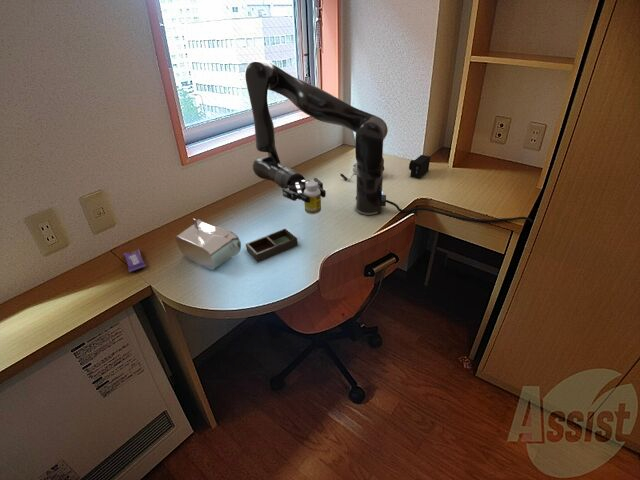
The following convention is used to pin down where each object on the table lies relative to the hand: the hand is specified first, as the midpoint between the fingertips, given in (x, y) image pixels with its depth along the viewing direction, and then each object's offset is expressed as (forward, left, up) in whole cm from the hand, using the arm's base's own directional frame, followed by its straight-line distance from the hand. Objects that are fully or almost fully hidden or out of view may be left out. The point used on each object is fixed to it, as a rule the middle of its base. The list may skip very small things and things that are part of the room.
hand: (316, 197), depth 113 cm
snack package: (+54, +22, -14) cm, 60 cm away
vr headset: (+31, +16, -14) cm, 38 cm away
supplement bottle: (+2, -2, -6) cm, 7 cm away
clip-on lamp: (-11, -49, -14) cm, 52 cm away
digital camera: (-36, -54, -14) cm, 67 cm away
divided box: (+13, +10, -14) cm, 22 cm away
